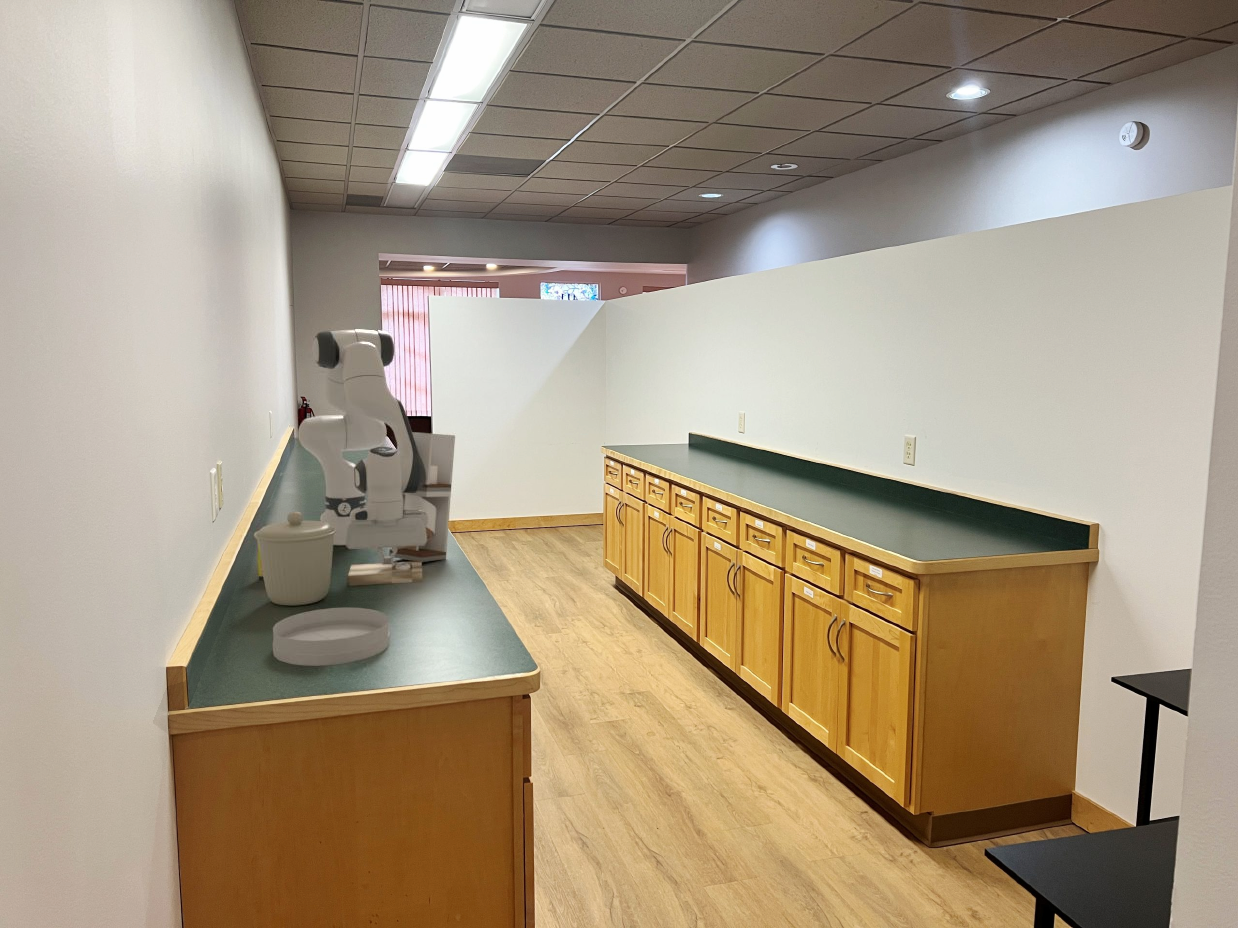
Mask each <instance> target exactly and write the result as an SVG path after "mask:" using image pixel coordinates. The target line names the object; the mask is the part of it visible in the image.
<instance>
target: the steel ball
mask: <svg viewBox="0 0 1238 928" xmlns="http://www.w3.org/2000/svg"><path fill="white" fill-rule="evenodd" d="M399 562H400V561H399ZM407 562H408V561H401V562H400V563H398V564H397V566H396V568H395V570H408V569H411V566H410V565H409V564H408V563H407Z"/></svg>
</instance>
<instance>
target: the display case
mask: <svg viewBox="0 0 1238 928" xmlns="http://www.w3.org/2000/svg"><path fill="white" fill-rule="evenodd" d="M412 434H413V437H414V440H415V443H416V446H417V449H418V452H419V455H420V457H421V459H422V461H423V464H424V467H425V470H426V482H425V484H424V485H423V486H422V488H421V489H420V490H418V491H417V492H416V493H402V495H403V510H421V511H423V512H425V513H426V514H427V516H428V523H427V525H426V526H425V528H426V535H427V543H426V544H425V545H424V546H405V547H397V552H396V554H395V556H394V558H397V559H400V560H408V561H412V562H417V561H422V563H424V562H425V563H426V562H432V561H440V560H446V559H447V549H448V548H447V547H448V538H449V537H448V535H449V526H450V525H449V523H450V522H449V521H450V509H451V497H452V483H453V471H454V470H453V469H454V468H453V467H454V459H455V458H454V456H455V444H456V443H455V441H456V435H454V434H453V435H452V434H441V433H440V434H439V433H431V432H430V433H429V432H428V433H427V432H415V431H414V432H413V431H412ZM396 445H397V447H396V450H398V452H399V455H400V456H401V454H400V450H399V447H398V444H397V443H396ZM421 514H424V513H421ZM392 553H393V551H392V548H390V549H389V554H388V556H391V555H392ZM394 558H393V559H394Z"/></svg>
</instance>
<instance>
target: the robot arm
mask: <svg viewBox="0 0 1238 928" xmlns="http://www.w3.org/2000/svg"><path fill="white" fill-rule="evenodd" d="M395 349H396V347H395V343H394V340H393V337H392V336H391V334H390V333H389V332H388V331H384V330H380V329H378V330H369V329H356V328H355V329H342V330H333V331H331V330H324V331H319V332H317V334H316V335H315V337H314V341H313V343H312V354H313V358H314V360H315V363H316V364H317V365H318V366H320V367H321V368H323V369H326V376H325V377H326V378H325V379H326V381H325V398H326V400H327V402H328V403H329V404H330V405H331V406H333V407H334V408H335V409H338V410H340V411H342V412H344V414H335V415H334V414H333V415H329V414H328V415H315V416H313V417H308V418H304V419H303V420H302V422H301V423H300V425H299V428H298V433H297V437H298V440H299V443H300V445H301V446H302V448H304V449H305V450H306V451H308V452H309V453H311V454H312V455H313V456H314V457H315V458H316V459H317V460H318V462H319V464H320V465H321V468H322V470H323V473H324V480H325V490H326V491H325V492H326V493H325V494H326V495H325V497H324V504H325V505H324V508H325V511H324V512H323V513H322V514H321V515H320V522H325V523H328V524H329V525H331V526H333V527H335V528H336V529H337V531H336V533H335V534H334V539H333V546H345V547H346V548H347V549H348V550H354V549H355V550H357V549H358V550H359V549H376V553H377V554H378V556H379V558H380V559H381V563H382V565H384V564H393V563H394V556H395V554H396V552H397V547H405V546H424V545H425V544H426V543H427V535H426V528H425V526H426V525H427V523H428V516H427V514H426V513H425V512H423V511H421V510H403V495H402V493H416V492H417V491H418V490H420V489H421V488H422V486H423V485H424V484H425V482H426V470H425V467H424V464H423V461H422V459H421V457H420V455H419V452H418V449H417V446H416V443H415V440H414V437H413V434H412V432H413V430H412V428H411V424H410V421H409V418H408V415H407V412H406V410H405V408H404V405H403V403H402V402H401V400H399V399H398V398H396V397H395V396H394V395H393V394H392V393H391V391H390V389H389V387H388V384H387V383H388V382H387V379H386V378H387V377H386V372H385V367H389V365H391V363H392V362H393V361H394V360H393V359H394V356H395V353H396V352H395ZM386 426H389V427H390V428H391V430H392V431H393V434H394V437H395V441H396V445H397V444H398V447H399V450H400V454H401V456H400V455H399V452H398V450H397V448H394V447H391V446H390V447H389V446H382V445H383V444H384V443H385V441H386V438H387V432H388V431H387V427H386ZM366 450H368V453H367V457H366V458H364V459H361V460H359V461H358V462H357V463H354V462H351V461H348V460H347V459H345V458H344V457H343V452H346V451H351V452H353V451H366ZM366 495H367V498H366ZM421 513H424V514H421ZM384 548H391V549H392V551H393V553H392V555H391V556H389V555H388V556H384V553H383V549H384Z"/></svg>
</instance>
